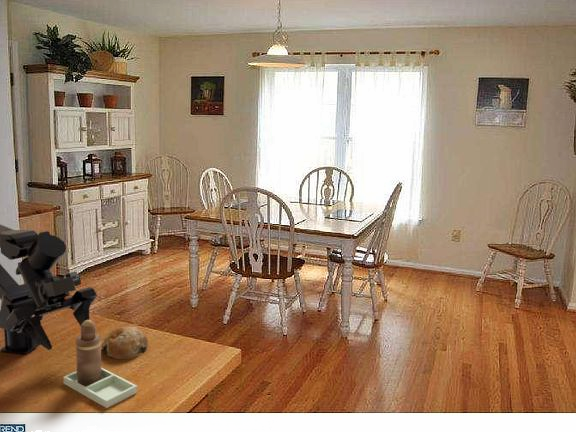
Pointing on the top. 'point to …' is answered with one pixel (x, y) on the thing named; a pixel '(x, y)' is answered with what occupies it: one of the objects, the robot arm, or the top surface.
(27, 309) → the robot arm
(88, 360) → the pepper mill
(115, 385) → the caddy
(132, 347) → the bread roll
